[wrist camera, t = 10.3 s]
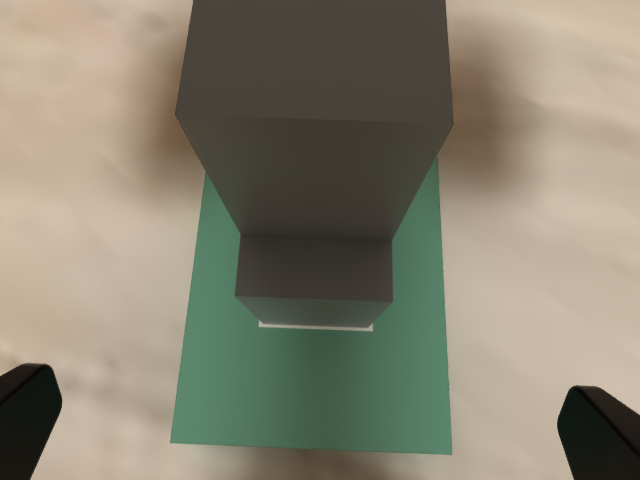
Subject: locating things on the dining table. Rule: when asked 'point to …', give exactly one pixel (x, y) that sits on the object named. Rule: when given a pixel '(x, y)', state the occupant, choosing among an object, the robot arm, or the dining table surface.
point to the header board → (317, 354)
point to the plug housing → (316, 142)
